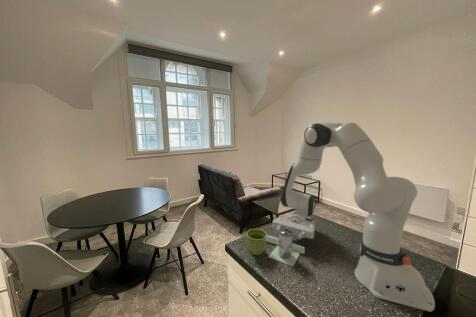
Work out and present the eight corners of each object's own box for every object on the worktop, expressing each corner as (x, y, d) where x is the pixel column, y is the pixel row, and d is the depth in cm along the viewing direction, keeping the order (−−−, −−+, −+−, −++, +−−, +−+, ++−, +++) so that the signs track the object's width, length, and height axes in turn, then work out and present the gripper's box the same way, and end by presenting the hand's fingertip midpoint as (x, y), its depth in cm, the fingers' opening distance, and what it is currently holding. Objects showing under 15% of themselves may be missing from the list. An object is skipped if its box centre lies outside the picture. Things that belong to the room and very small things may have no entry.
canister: (293, 253, 88) (294, 231, 87) (288, 260, 83) (290, 236, 82) (280, 249, 91) (281, 227, 90) (276, 255, 87) (277, 232, 85)
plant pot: (266, 246, 95) (266, 229, 94) (267, 258, 86) (267, 240, 84) (247, 244, 96) (247, 228, 95) (245, 257, 87) (246, 238, 85)
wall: (304, 253, 89) (304, 247, 89) (303, 254, 89) (304, 247, 88) (264, 239, 100) (264, 234, 100) (264, 240, 100) (264, 235, 99)
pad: (299, 254, 89) (300, 253, 89) (292, 266, 80) (293, 265, 80) (277, 246, 95) (277, 245, 95) (268, 257, 86) (268, 256, 86)
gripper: (278, 212, 107) (267, 222, 95) (317, 222, 96) (311, 234, 84) (277, 223, 108) (267, 234, 96) (316, 234, 97) (310, 247, 85)
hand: (288, 234), depth 90 cm, fingers open, 8 cm apart
